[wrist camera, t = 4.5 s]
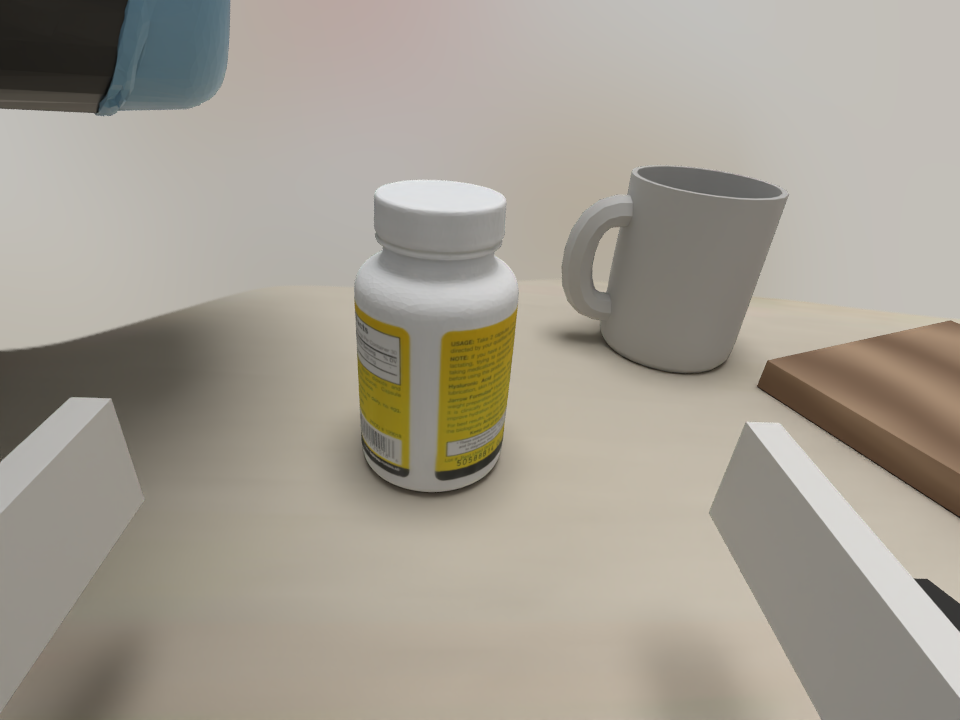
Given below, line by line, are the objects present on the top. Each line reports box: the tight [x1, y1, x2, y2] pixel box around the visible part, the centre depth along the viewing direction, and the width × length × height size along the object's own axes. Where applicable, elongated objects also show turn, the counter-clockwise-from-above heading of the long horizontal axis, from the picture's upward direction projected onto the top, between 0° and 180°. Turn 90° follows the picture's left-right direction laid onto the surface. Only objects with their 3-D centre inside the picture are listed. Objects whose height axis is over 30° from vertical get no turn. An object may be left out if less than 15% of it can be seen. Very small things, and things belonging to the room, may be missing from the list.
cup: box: [562, 165, 789, 373], centre depth 28 cm, size 7×10×9 cm
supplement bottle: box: [354, 180, 519, 492], centre depth 18 cm, size 5×5×10 cm
